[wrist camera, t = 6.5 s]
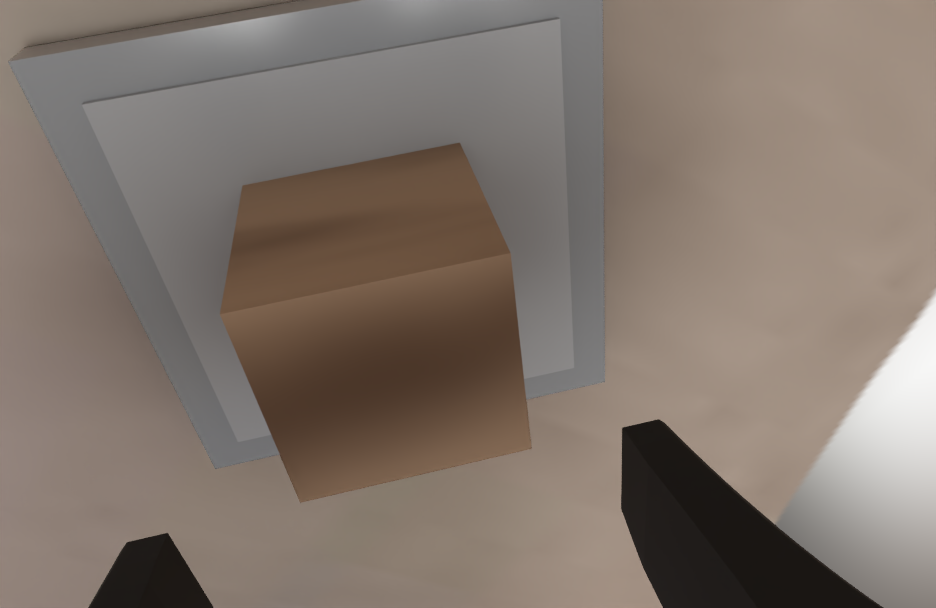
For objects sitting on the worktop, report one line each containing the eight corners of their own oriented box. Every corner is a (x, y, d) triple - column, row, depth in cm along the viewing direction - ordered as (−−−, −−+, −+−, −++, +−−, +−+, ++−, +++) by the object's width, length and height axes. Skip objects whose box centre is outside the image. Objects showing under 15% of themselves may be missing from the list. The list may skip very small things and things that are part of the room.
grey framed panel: (594, 361, 22) (606, 385, 21) (218, 444, 21) (214, 472, 20) (586, -49, 15) (605, -41, 14) (24, 47, 14) (5, 63, 13)
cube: (484, 314, 19) (531, 448, 15) (302, 353, 19) (299, 502, 15) (459, 142, 16) (510, 252, 12) (242, 185, 16) (219, 314, 12)
